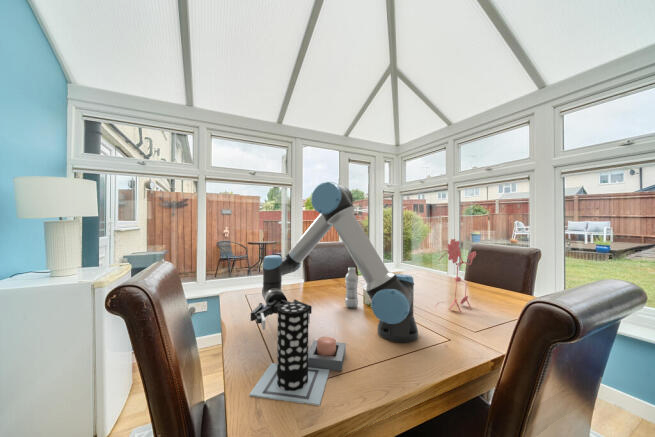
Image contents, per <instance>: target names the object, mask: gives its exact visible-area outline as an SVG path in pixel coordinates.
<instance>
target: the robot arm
mask: <svg viewBox="0 0 655 437" xmlns="http://www.w3.org/2000/svg"><path fill="white" fill-rule="evenodd" d="M310 201H311V205H312V207H313V209H314V210H315V211H316V212H317V213H318V214H319V215H318V216H317V217H316V218H315V219H314V220H313V221H312V223H311V224H310V226H309V227H308V228H307V229H306V231H304V233H303V234H302V235H301V236H300V238H298V240H297V241H296V243H295V244H294V245H293V246H292V247H291V249H290V250H289V251H288V252H287V253H286V255H285V256H284V257H282V256H281V255H277V254H270V255H266V256H264V258H263V264H262V273H263V274H262V276H263V278H262V280H263V282H262V289H261V296H262V297H263V300H264V302H265V304H264V303H262V302H259V303H258V306H256V307H255V308H254V309H253V310H252V311H251V312H250V322H254V321H256V324H260V326H261V329H262V331H264V330H266V317H268V316H271V315H273V314H277V315H278V307H279V306H280V305H282V304H285V303H291V301H289V300H288V298H287V297H286V295H285V294H284V292H283V291H282V276H284V275H285V276H286V275H287V274H291V273H295V272H296V271H299V269H300V267H301V263H302V262H303V261H304V260H305V259H306V258H307V256H308V255H309V254H310V253H311V252H312V250H313V249H314V248H315V247H316V246H317V245H318V244H319V242H320V241H321V240H322V239H323V238H324V237H325V236H326V235H327V233H329V231H330V230H331V228H332V227H333V228H334V229H335V231H336V232H337V234H338V236H339V238H340V240H341V242H342V243H343V245H344V246H345V248H346V250H347V252H348V253H349V255H350V256H351V259H352V260H353V262H354V264H355V265H356V267H357V269H358V271H359V272H360V274H361V276H362V278H363V279H364V281H365V283H366V287H365V291H366V293H367V295H368V296H369V298H370V300H371V303H370V304H371V311H372V312H373V314H374V316H375V317H376V318H377V319H378V320H379V321H378V324H377V334H378V335H379V336H380V337H381V338H383V339H385V340H388V341H391V342H395V343H403V344H404V343H412V342H415V341H416V340H417V339H418V338H419V329H418V327H417V322H416V320H415V317H414V295H415V294H414V286H415V283H414V281H415V280H414V277H413V276H412V275H408V274H400V273H394V272H391V271H389V270H388V268H387V267H386V265H385V263H384V262H383V260H382V258H381V256H380V255H379V253H378V252H377V250H376V249H375V247H374V245H373V243H372V242H371V240H370V239H369V237H368V235H367V234H366V232H365V231H364V229H363V227H362V226H361V224H360V222H359V221H358V219H357V218H356V216H355V214H354V212H355V206H354V197H353V194H352V192H351V190H350V189H349V188H347V187H346V186H345V185H340V184H338V183H336V182H333V181H323V182H321V183H319V184H318V185H316V187H315V188H314V189H313V191H312V194H311V198H310ZM292 302H299V303H304V302H301V301H299V300H297V299H293V301H292ZM304 304H306V303H304ZM307 305H308V307H309V322H308V324H310V323H311V321H310V320H311V318H310V316H311V314H312V312H313V311H312V310H313V308H312V307H313V306H312V305H310V304H307Z"/></svg>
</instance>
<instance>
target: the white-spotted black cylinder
mask: <svg viewBox="0 0 655 437" xmlns="http://www.w3.org/2000/svg"><path fill="white" fill-rule="evenodd" d="M290 302H291V301H290ZM299 302H300V301H299ZM299 302H293V301H292V302H291V303H285V304H282V305H280V306H279V307H278V314H277V335H276V336H277V343H276V344H277V348H276V350H277V353H276V355H277V361H276V362H277V363H276V364H277V384H278V386H279V387H280V388H281V389H283V390H286V391H296V390H299V389H301V388H303V387H304V386H305V385H306V384H307V383H308V350H309V323H308V322H309V307H308V305H309V304H308V303H305V304H304V302H302V303H299Z"/></svg>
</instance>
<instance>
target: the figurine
mask: <svg viewBox="0 0 655 437" xmlns="http://www.w3.org/2000/svg"><path fill="white" fill-rule="evenodd" d="M460 244H461V243H460V241H459V240H456V238H451V239H450V243H447V245H446V247H447V251H446V252H445V253H444V254H442V256H441V257H440V258H439V259H438V261H440V260H442V258H443V257H445V255H447V254H448V257H447V259H448V261H450V260H451V261H452V264H455V265H456V276H455V278H454V281H455V293H454V300H453V302H452V303H451V305H450V307H449V308H448V310H451V309H452V308H453V306H454V305H455V304H456V307H457V308H458V310H459V313H460V312H461V313H462V310H461V309H460V306H459V304H460V305H461V306H462V305H463V304H464V303H467V305H468V307H469V309H470V308H471V309H472V307H471V304H470V302H469V301H468V299H469V296H468V295H467V285H468V284H467V282H466V281H463V280H462V278H461V277H460V276H458V274H459V273H458V272H459V267H460V266H461V265H462V264H466V265H469V266H471V265H472V263H473V260H474V259H475V258H476V256H477V252H476V250H475V251H472V252H470V253H469V254H468V256H467V259H468V261H470V262H469V263H468V262H465V261H463V260H464V259H463V258H462V252H461V247H460ZM459 259H460V260H461V261H460V262H458V260H459ZM459 282H462V283H464V284H465V294H464V297H463V298H462V299H461V300H460V303H459V304H458V301H457V300H458V298H456V297H457V289H458V288H457V286H458V285H457V283H459ZM441 303H443V301H441V302H440V304H441ZM437 305H438V303H436V304H435V306H437ZM477 307H480V306H479V305H477Z"/></svg>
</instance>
